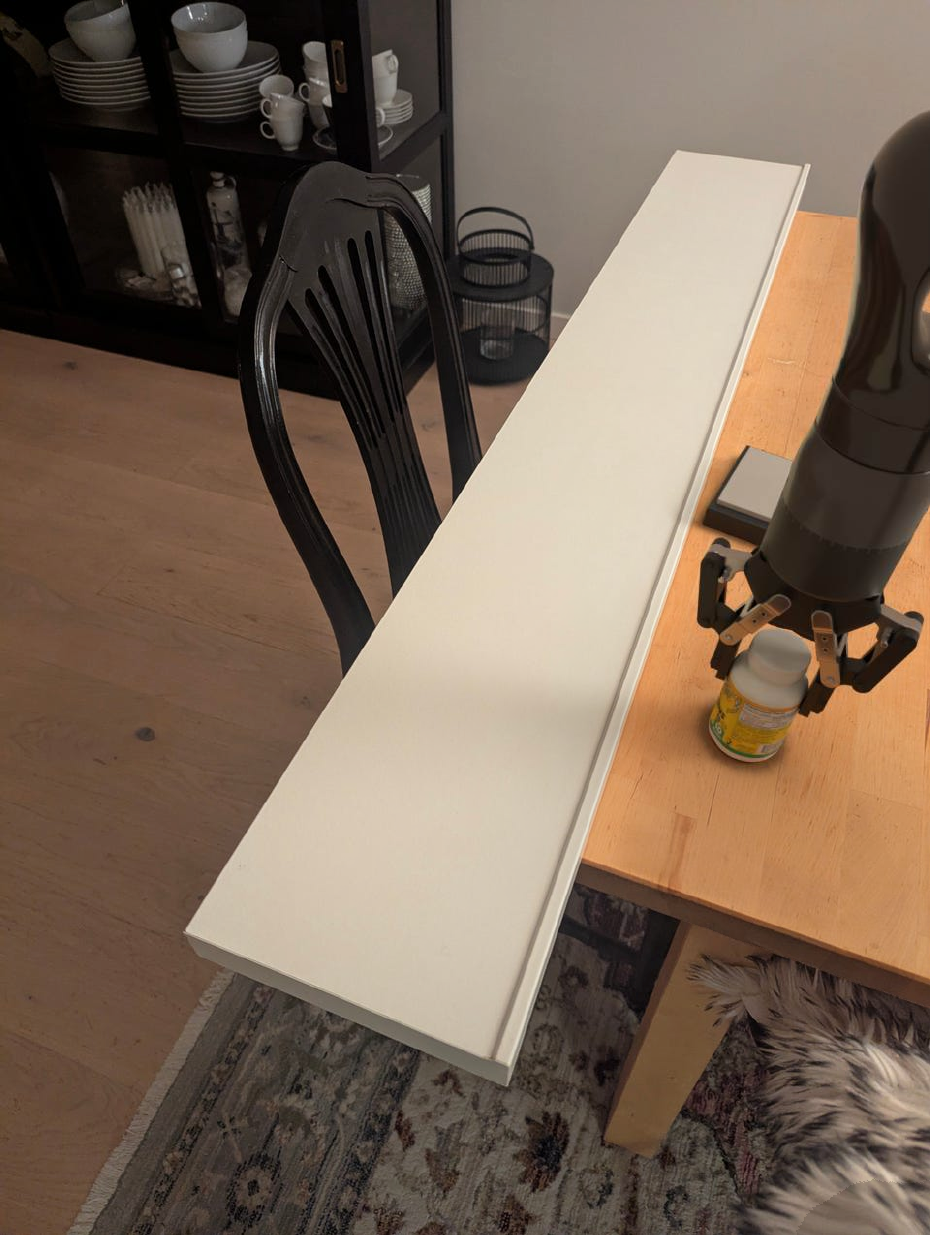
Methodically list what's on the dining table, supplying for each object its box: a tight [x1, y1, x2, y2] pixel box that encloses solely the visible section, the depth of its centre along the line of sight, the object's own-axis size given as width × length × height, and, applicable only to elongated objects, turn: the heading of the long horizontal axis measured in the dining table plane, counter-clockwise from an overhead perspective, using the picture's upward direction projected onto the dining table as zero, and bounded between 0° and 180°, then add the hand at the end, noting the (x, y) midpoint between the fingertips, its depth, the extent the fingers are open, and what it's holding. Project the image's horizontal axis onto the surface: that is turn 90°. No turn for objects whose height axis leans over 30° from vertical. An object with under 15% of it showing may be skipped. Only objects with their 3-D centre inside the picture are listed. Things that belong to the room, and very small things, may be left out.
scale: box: [702, 444, 794, 546], centre depth 84 cm, size 12×12×3 cm
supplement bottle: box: [708, 627, 812, 763], centre depth 63 cm, size 5×5×10 cm
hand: (764, 688), depth 62 cm, fingers closed on supplement bottle, 5 cm apart
